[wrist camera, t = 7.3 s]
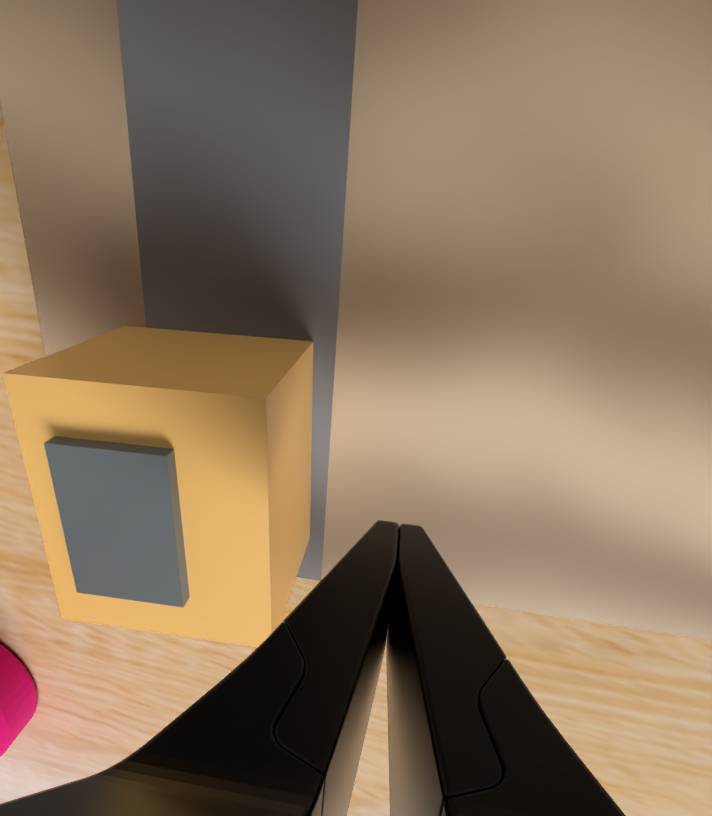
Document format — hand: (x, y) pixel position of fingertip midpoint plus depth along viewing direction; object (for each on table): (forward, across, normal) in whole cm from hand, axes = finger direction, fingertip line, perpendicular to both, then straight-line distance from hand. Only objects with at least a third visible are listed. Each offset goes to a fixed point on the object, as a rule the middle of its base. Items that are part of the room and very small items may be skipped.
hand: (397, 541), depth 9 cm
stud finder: (+4, +5, 0) cm, 6 cm away
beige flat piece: (+5, -1, -3) cm, 6 cm away
